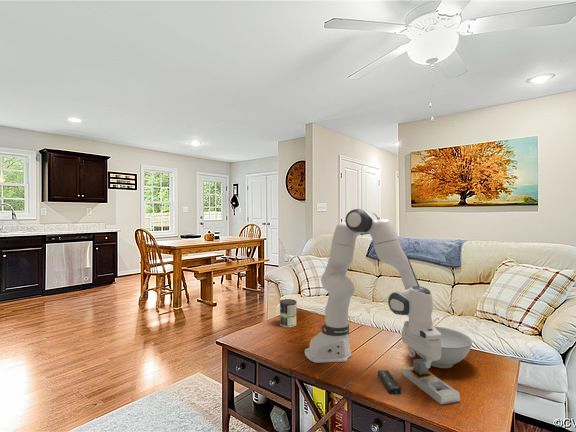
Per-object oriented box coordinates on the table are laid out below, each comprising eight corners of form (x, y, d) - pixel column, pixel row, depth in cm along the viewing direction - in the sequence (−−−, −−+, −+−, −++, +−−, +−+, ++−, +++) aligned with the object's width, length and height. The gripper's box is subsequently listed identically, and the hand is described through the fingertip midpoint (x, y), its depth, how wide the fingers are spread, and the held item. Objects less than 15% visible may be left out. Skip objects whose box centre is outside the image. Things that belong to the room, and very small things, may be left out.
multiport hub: (388, 375, 137) (388, 370, 137) (401, 394, 123) (401, 388, 123) (377, 375, 137) (377, 370, 137) (389, 395, 122) (389, 388, 122)
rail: (441, 404, 116) (441, 395, 116) (403, 375, 137) (403, 367, 137) (459, 401, 118) (459, 392, 118) (419, 372, 139) (419, 365, 139)
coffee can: (278, 326, 194) (278, 303, 194) (280, 321, 204) (280, 298, 204) (295, 327, 193) (296, 303, 193) (297, 321, 203) (297, 299, 203)
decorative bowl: (464, 353, 157) (465, 329, 157) (478, 381, 132) (479, 351, 132) (406, 346, 166) (406, 323, 166) (408, 371, 140) (408, 343, 140)
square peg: (419, 383, 130) (419, 363, 130) (413, 379, 133) (413, 359, 133) (428, 382, 131) (428, 362, 131) (421, 377, 135) (421, 358, 135)
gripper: (398, 319, 141) (397, 351, 141) (430, 337, 121) (429, 374, 121) (410, 319, 142) (410, 350, 142) (444, 336, 123) (444, 372, 123)
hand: (419, 361), depth 132 cm, fingers open, 8 cm apart
